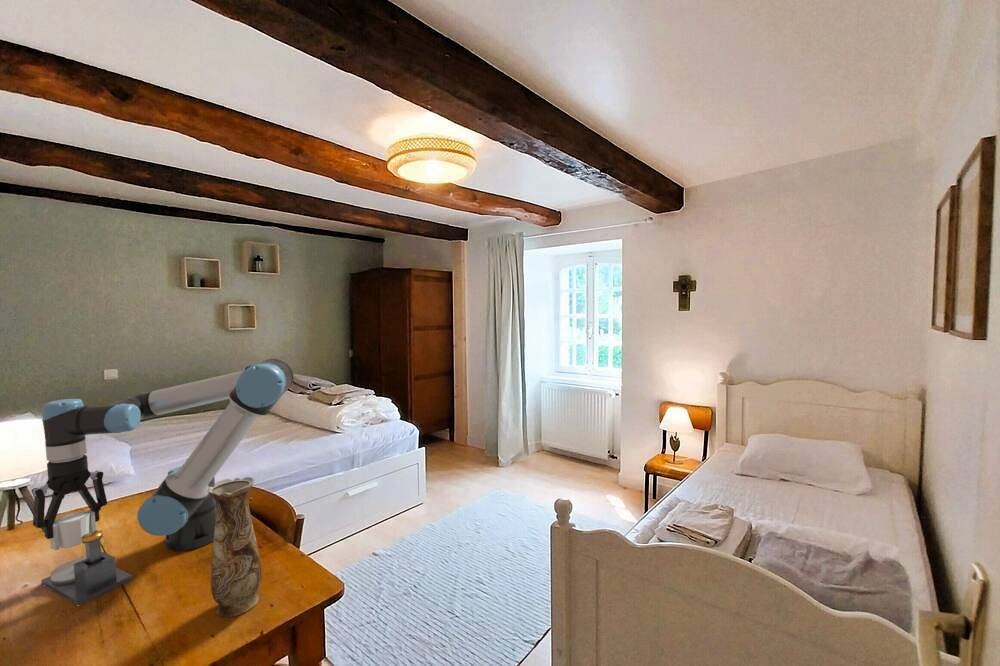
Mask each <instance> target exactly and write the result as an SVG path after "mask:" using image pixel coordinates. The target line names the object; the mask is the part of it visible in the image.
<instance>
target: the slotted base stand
mask: <svg viewBox="0 0 1000 666" xmlns="http://www.w3.org/2000/svg"><path fill="white" fill-rule="evenodd" d="M101 556H102V560H101V561H99V562H97V563H95V564H92V565H90V566H88V565H87V559H85V560H82V561H80V562H78V563H75V564H74V575H75V582H73V583H69V584H64V585H54V584H52V583H51V576H47V577H44V578H42V579H41V583H40V584H41V585H42V584H43V585H42V586H44V585H45V586H46V587H45V586H44V587H45V588H47V587H48V588H47V589H49V590H50V589H51V590H50V591H52V590H53V592H54V593H55V592H56V594H57V593H58V594H57V595H59V594H60V595H61V597H62V596H63V597H62V598H64V599H65V598H66V599H65V600H67V599H68V600H67V601H69V600H70V601H71V603H72V602H73V603H72V604H74V605H75V604H76V606H77V605H80V606H81V604H82V605H83V603H84V604H86V603H87V601H88V602H90V601H91V600H90V599H92V600H94V599H95V598H94V597H96V598H98V597H100V596H102V595H103V594H106V593H108V592H110V591H112V590H114V589H116V588H118V587H121V586H122V585H124V584H126V583H128V582H130V581H132V580H133V575H132V574H130V573H128V572H126V571H124V570H122V569H120V568H118V567H116V557H115V556H114V555H111V554H109V553H106V552H105V551H101ZM101 594H102V595H101ZM60 595H59V596H60ZM99 595H100V596H99ZM97 596H98V597H97ZM93 598H94V599H93ZM89 600H90V601H89ZM70 601H69V602H70ZM85 602H86V603H85Z"/></svg>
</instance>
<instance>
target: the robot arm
mask: <svg viewBox="0 0 1000 666" xmlns="http://www.w3.org/2000/svg"><path fill="white" fill-rule="evenodd" d="M294 376H295V375H294V372H293V369H292V368H291V365H289V364H288V363H287V362H285V361H284V360H282V359H278V358H271V359H270V358H269V359H266V360H262V361H261V362H259V363H256V364H252V365H249V366H247V365H246V366H245V367H244V368H243V369H242V370H240V371H236V372H231V373H228V374H222V375H218V376H213V377H209V378H206V379H205V378H204V379H201V380H197V381H192V382H188V383H183V384H179V385H175V386H170V387H165V388H161V389H157V390H152V391H149V392H148V391H147V392H139V393H135V394H132V395H131V396H129V397H126V398H124V399H121V400H117V401H115V402H111V403H109V404H103V405H94V406H93V405H92V406H89V405H88V406H87V405H84V403H83V400H82V399H80V398H66V399H65V398H64V399H58V400H53V401H48V402H46V403H45V404H44V405H43V407H42V420H41V422H42V424H43V432H44V444H45V456H46V461H48V462H47V463H46V469H47V481H46V483H45V484H44V485H42V486H40V487H34V488H32V489H31V494H32V495H33V499H34V501H33V514H32V516H33V517H32V526H33V527H35V528H37V529H41V528H43V529H44V530H43V533H44V538H45V539H47V540H50V542H49V543H50V549H52V550H54V551H59V550H60V549H61V548H60V546H59V535H58V525H57V524H54V521H55V520H57V519H56V518H57V515H58V512H59V510H60V507H61V504H62V502H63V500H64V499H65V496H66V495H67V494H70V493H72V492H74V493H75V492H78V494H79V495H80V496H81V498H82V499H83V501H84V502H85V504H86V505H87V507H88V508H89V510H86V512H89V513H90V522H89V533H90V532H93V531H97V527H96V526H97V525H96V523H97V522H99V521H100V511H101V510H102V507H105V506H106V505H108V500H107V494H106V492H105V487H104V482H103V478H104V472H103V471H101V470H94V471H89V467H88V466H89V465H88V455H86V454H87V453H88V452H87V451H88V449H87V443H86V441H87V440H86V436H88V435H104V434H121V433H124V432H125V433H126V432H132V431H134V430H135V429H137V427H138V426H139V424H140V422H141V421H142V420H144V419H145V420H146V419H149V418H154V417H157V416H161V415H164V414H165V415H166V414H168V413H169V414H170V413H174V412H177V411H182V410H183V411H184V410H186V409H190V408H191V409H192V408H195V407H199V406H203V405H204V406H205V405H208V404H212V403H216V402H221V401H225V400H229V403H228V405H227V406H226V408H225V409H224V410H223V411H222V413H221V414H220V415H219V416H218V418H217V419H216V420H215V422H214V423H213V424H212V425H211V427H210V429H209V430H208V431H207V433H205V435H204V436H203V438H202V439H201V440H200V441H199V443H198V444H197V445H196V447H195V448H194V450H193V451H192V452H191V454H190V455H188V458H186V459H185V460H186V461H184V463H183V464H182V465H181V466H177V467H175V468H172V469H170V470H169V471H168V472H167V475H166V477H165V478H164V480H163V481H162V482H161V483H160V484H159V486H158V487H157V488H156V490H155V491H154V493H153V494H151V496H149V497H148V498H146V499H145V500H144V501H143V502H142V503H141V505H140V506H139V508H138V510H137V514H136V520H137V521H138V525H139V526H140V528H141V529H142V530H143V531H145V532H146V533H148V534H150V535H153V536H157V537H164V536H165V539H164V543H165V545H164V546H165V548H166V549H167V550H169V551H172V552H183V551H189V550H194V549H197V548H200V547H203V546H206V545H208V544H211V543H212V542H213V543H214V532H215V519H216V502H215V499H214V498H213V497H212V496H211V495H210V494H209V493H208V492H207V491H208V489H209V487H214V484H215V483H216V482H215V481H216V480H215V477H216V475H217V474H218V472H219V471H220V469H221V468H222V467H223V465H225V463H226V462H227V461H228V459H229V457H230V456H231V455H232V453H234V451H235V449H236V448H237V447H238V446H239V444H240V443H241V441H242V440H243V439H244V438H245V436H246V435H247V433H248V432H249V431H250V430H251V429H252V427H253V425H254V424H255V423H256V421H258V419H259V418H262V417H266V416H268V415H269V414H270V412H271V411H272V409H273V408H274V407H275V406H276V404H277V403H278V401H279V400H280V398H281V397H282V396H283V395H284V394H285V393H286V392H287V391H288V390H289V389H290V388H291V386H292V385H293V382H294ZM89 478H90V480H92V485H93V489H94V493H95V497H96V500H95V499H94V497H93V495H92V494H91V492H90V491H89V489H88V487H87V486H86V483H87V481H88V480H89ZM49 489H50V490H51V491H53V492H52V495H51V500H50V502H49V506H48V508H47V511H46V514H45V509H46V508H45V507H46V495H47V493H48V490H49Z"/></svg>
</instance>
